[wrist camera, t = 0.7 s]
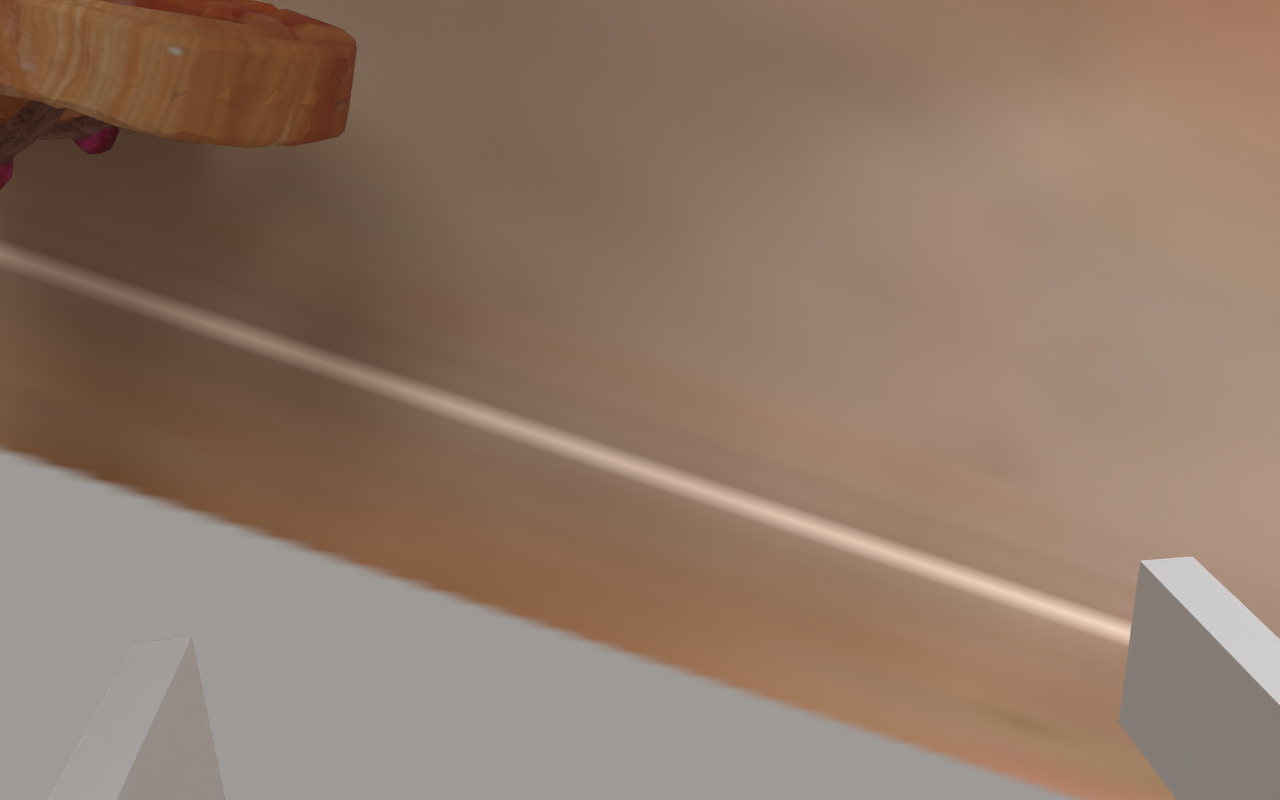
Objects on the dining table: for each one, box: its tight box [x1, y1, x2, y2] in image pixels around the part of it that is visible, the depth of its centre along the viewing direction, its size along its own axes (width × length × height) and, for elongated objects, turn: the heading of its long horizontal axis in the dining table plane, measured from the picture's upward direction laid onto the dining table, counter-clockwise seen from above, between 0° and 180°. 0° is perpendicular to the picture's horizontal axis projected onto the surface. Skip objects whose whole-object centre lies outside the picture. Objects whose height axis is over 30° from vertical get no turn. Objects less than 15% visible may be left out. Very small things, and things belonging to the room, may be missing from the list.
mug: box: [0, 0, 357, 190], centre depth 30 cm, size 15×8×15 cm, turn 78°
